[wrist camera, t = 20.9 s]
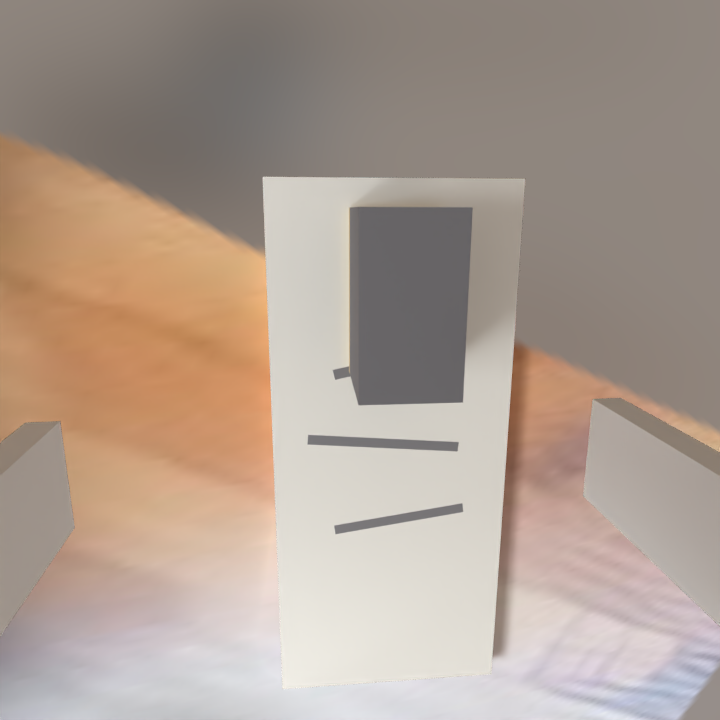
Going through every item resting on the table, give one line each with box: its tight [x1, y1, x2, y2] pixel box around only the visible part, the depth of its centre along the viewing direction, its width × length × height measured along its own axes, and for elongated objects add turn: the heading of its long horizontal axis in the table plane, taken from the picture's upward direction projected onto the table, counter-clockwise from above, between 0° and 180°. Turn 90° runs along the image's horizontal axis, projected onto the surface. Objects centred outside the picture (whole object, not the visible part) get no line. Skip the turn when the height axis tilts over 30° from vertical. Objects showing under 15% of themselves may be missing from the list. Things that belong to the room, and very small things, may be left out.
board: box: [263, 177, 525, 689], centre depth 35 cm, size 14×32×1 cm, turn 0°
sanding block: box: [349, 207, 473, 405], centre depth 29 cm, size 5×9×6 cm, turn 0°
